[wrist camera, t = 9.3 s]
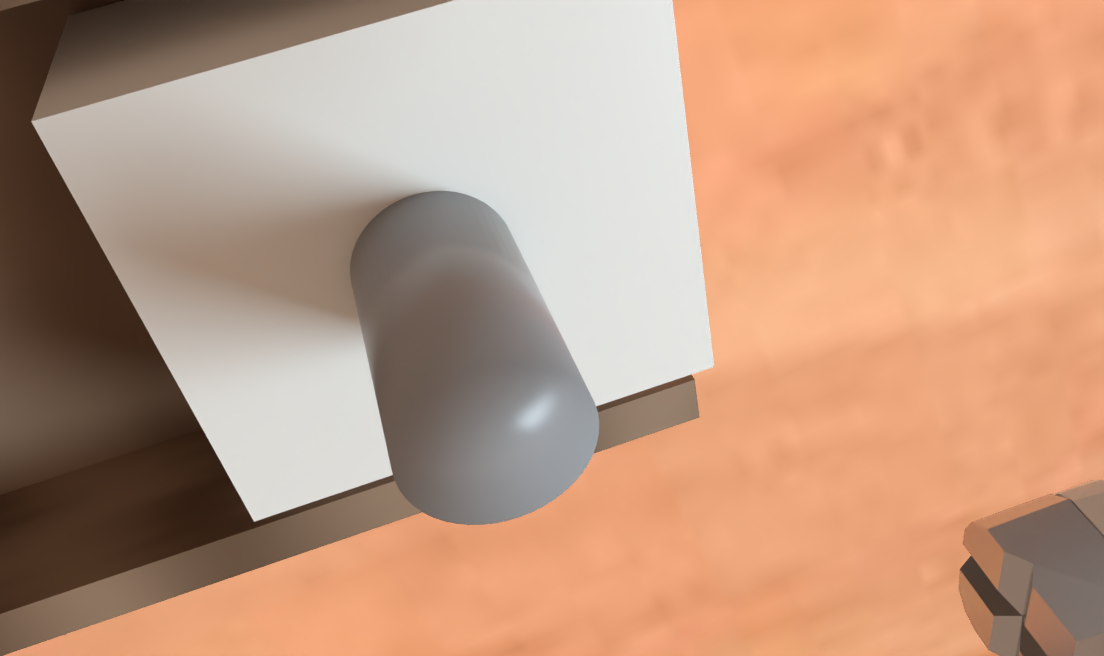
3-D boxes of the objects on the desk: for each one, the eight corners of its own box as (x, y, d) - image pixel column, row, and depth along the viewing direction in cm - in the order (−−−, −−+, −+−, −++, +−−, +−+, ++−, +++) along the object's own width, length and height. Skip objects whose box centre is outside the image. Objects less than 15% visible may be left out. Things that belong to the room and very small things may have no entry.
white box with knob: (574, -124, 20) (816, 46, 12) (635, 250, 25) (828, 535, 17) (67, 15, 19) (-34, 303, 11) (246, 374, 24) (265, 739, 16)
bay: (532, -272, 19) (717, -209, 12) (632, 307, 28) (774, 538, 21) (-721, 53, 17) (-1378, 360, 10) (-188, 575, 25) (-339, 938, 18)
